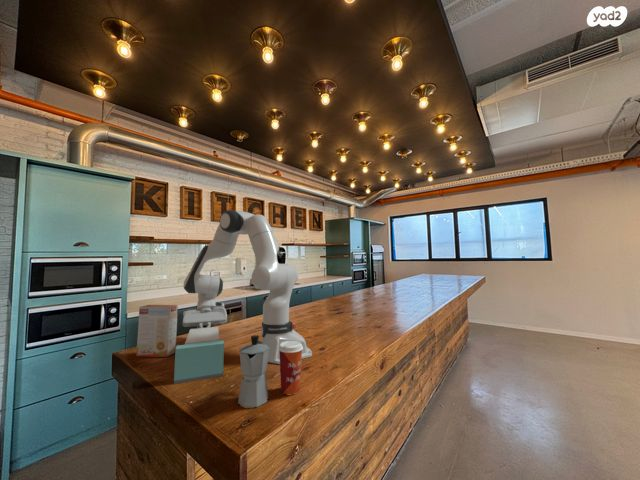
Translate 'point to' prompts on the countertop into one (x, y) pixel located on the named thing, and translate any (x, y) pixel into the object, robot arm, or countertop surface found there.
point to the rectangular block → (198, 361)
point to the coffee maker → (253, 373)
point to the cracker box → (157, 330)
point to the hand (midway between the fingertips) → (204, 332)
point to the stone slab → (202, 335)
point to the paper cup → (290, 366)
